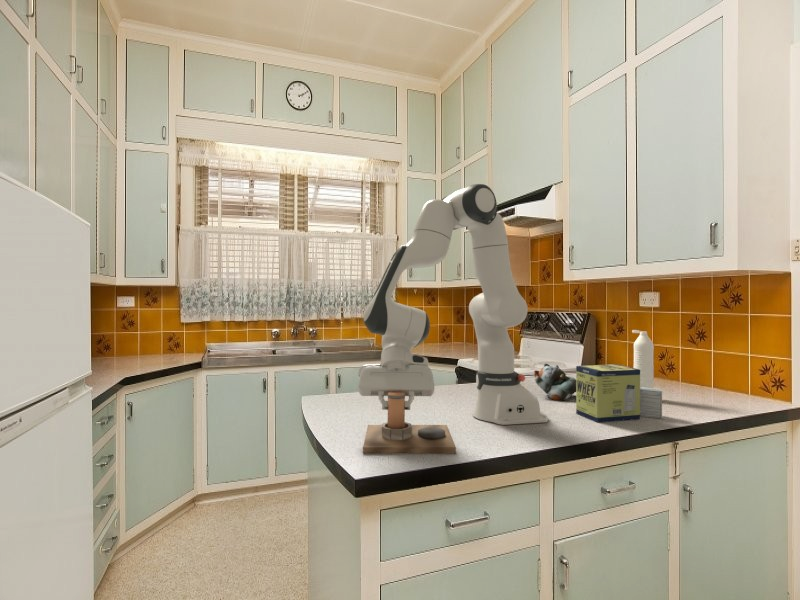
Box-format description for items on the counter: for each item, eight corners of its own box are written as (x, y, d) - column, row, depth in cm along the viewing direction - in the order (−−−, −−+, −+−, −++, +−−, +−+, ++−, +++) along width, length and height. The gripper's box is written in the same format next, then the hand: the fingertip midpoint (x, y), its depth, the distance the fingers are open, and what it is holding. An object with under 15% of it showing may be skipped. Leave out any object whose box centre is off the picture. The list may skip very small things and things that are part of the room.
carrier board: (446, 430, 120) (446, 415, 120) (455, 453, 102) (455, 436, 102) (367, 430, 120) (368, 415, 120) (363, 453, 102) (363, 436, 102)
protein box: (575, 413, 138) (575, 365, 138) (616, 411, 141) (616, 363, 141) (597, 423, 128) (597, 370, 127) (641, 419, 131) (641, 368, 131)
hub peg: (404, 425, 113) (404, 391, 113) (404, 430, 108) (405, 395, 108) (387, 425, 113) (387, 391, 113) (387, 430, 108) (387, 395, 108)
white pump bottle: (657, 400, 156) (658, 331, 156) (641, 401, 155) (641, 331, 155) (641, 395, 164) (641, 329, 164) (625, 395, 164) (625, 330, 163)
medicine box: (660, 415, 136) (660, 388, 136) (662, 419, 132) (662, 390, 132) (632, 412, 139) (632, 386, 139) (633, 416, 135) (633, 388, 135)
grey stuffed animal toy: (561, 403, 151) (541, 367, 155) (540, 408, 162) (522, 375, 165) (588, 386, 158) (569, 352, 162) (566, 393, 169) (548, 361, 172)
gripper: (358, 357, 118) (355, 401, 108) (433, 358, 118) (436, 402, 108) (359, 371, 122) (356, 414, 112) (431, 371, 122) (434, 415, 112)
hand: (396, 408), depth 110 cm, fingers closed on hub peg, 4 cm apart
